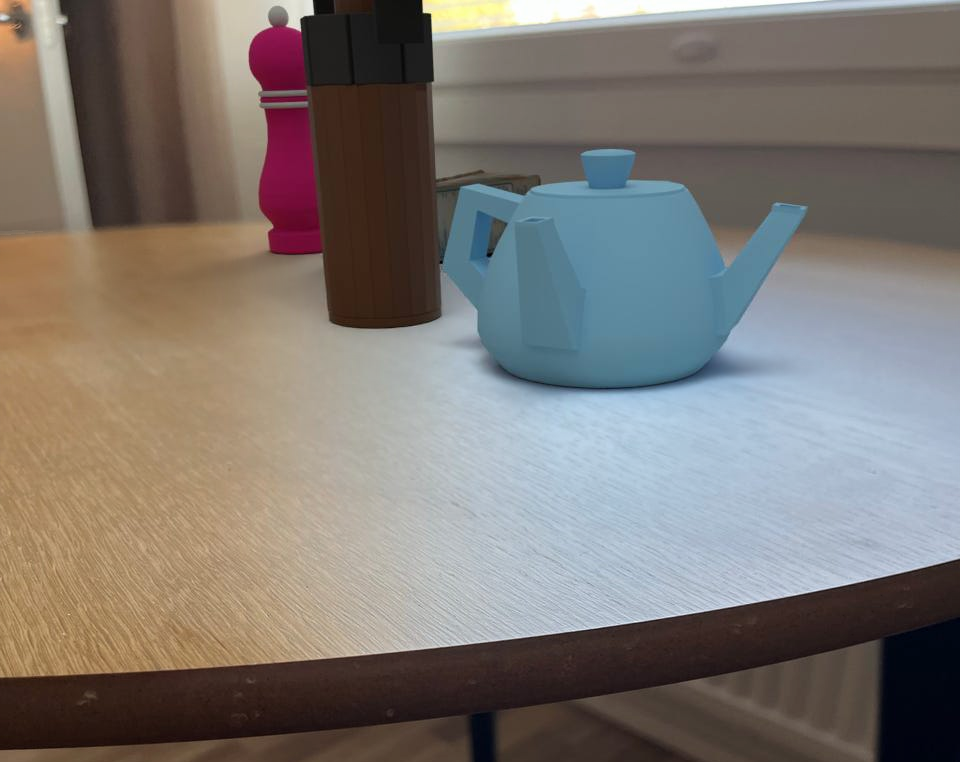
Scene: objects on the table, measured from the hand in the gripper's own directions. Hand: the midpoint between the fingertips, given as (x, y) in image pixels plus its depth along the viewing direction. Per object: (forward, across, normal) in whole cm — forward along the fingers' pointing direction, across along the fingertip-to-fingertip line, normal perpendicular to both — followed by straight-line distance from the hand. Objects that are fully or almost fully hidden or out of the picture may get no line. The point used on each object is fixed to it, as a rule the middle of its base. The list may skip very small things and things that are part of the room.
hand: (366, 48), depth 63 cm
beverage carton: (+16, +23, -12) cm, 30 cm away
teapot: (+16, -18, -8) cm, 25 cm away
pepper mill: (+16, +34, -2) cm, 38 cm away
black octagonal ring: (+2, 0, 0) cm, 2 cm away
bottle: (+16, 0, 0) cm, 16 cm away
